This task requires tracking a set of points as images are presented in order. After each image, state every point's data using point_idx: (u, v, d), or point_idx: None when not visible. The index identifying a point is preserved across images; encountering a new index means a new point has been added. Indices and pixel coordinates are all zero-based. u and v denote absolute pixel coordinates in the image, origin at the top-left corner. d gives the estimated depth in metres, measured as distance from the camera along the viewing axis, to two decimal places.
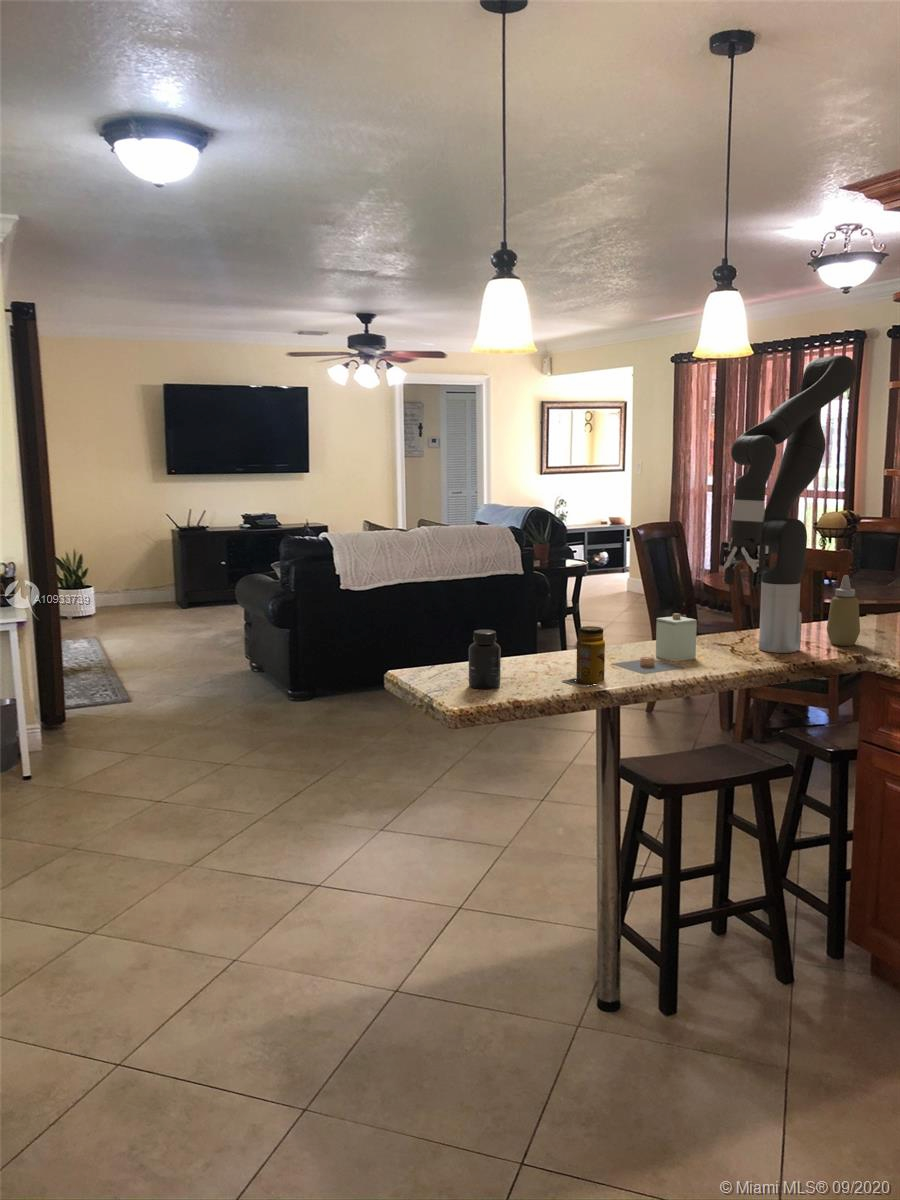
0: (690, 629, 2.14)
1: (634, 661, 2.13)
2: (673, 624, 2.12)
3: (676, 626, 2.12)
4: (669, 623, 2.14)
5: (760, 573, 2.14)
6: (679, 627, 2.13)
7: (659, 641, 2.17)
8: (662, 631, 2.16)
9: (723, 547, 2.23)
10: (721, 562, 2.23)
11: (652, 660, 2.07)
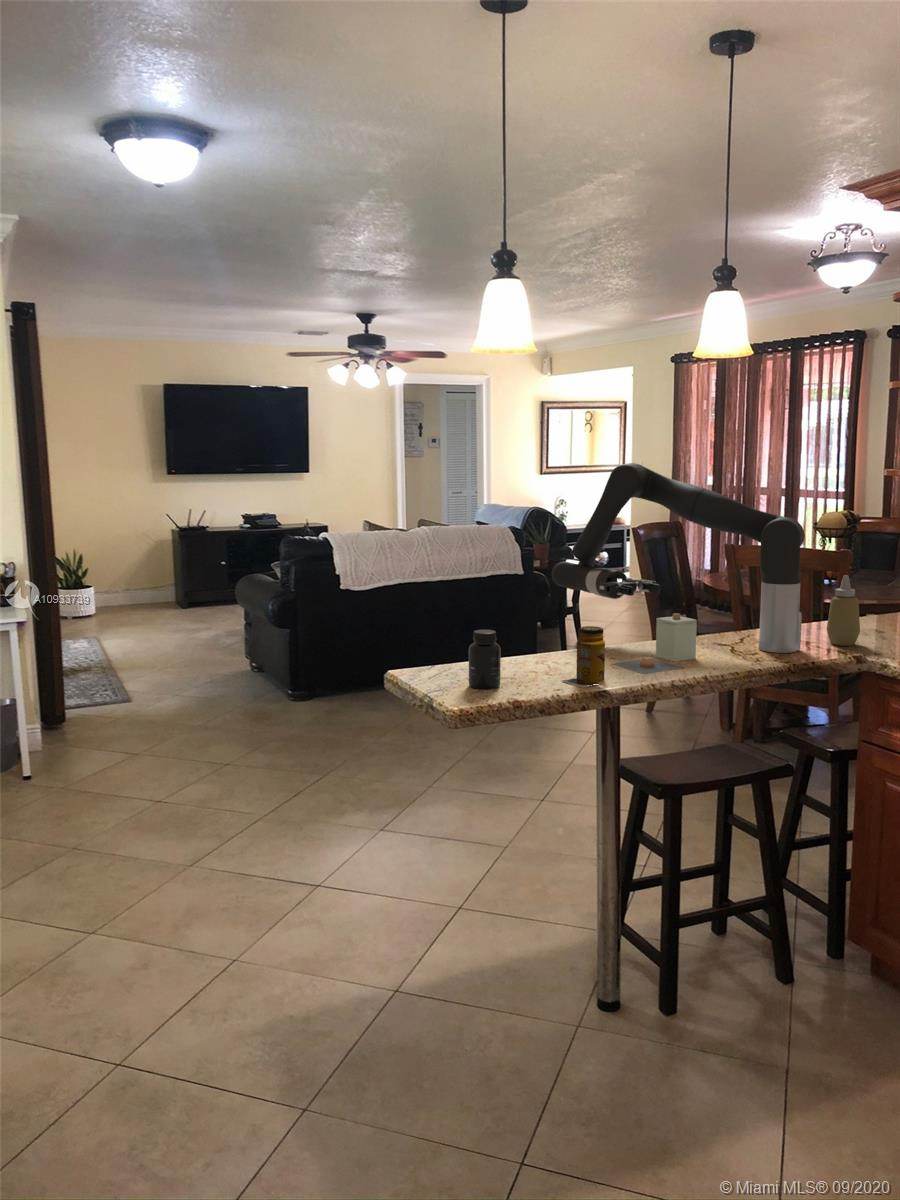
0: (690, 629, 2.14)
1: (634, 661, 2.13)
2: (673, 624, 2.12)
3: (676, 626, 2.12)
4: (669, 623, 2.14)
5: (619, 589, 2.26)
6: (679, 627, 2.13)
7: (659, 641, 2.17)
8: (662, 631, 2.16)
9: None
10: None
11: (652, 660, 2.07)
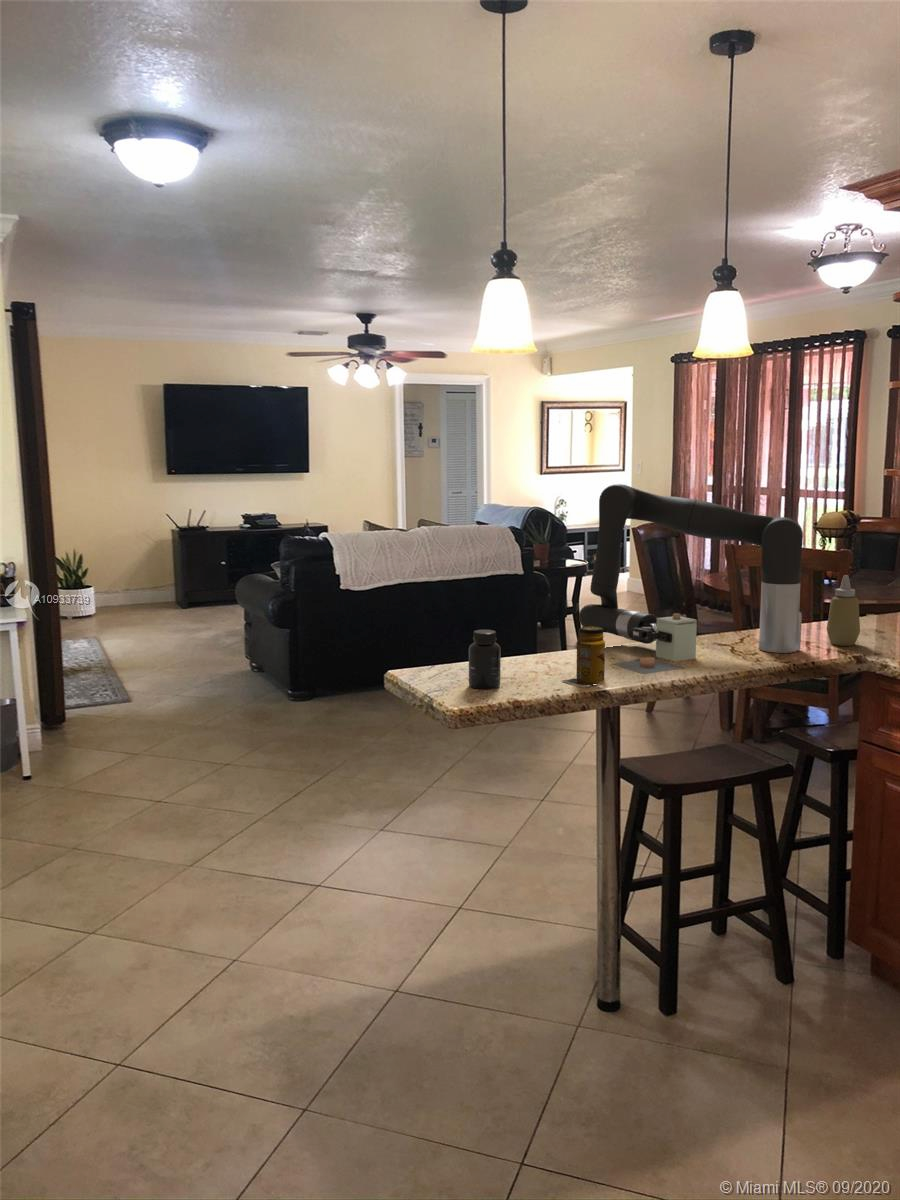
0: (690, 629, 2.14)
1: (634, 661, 2.13)
2: (673, 624, 2.12)
3: (676, 626, 2.12)
4: (669, 623, 2.14)
5: (657, 635, 2.16)
6: (679, 627, 2.13)
7: (659, 641, 2.17)
8: None
9: None
10: None
11: (652, 660, 2.07)
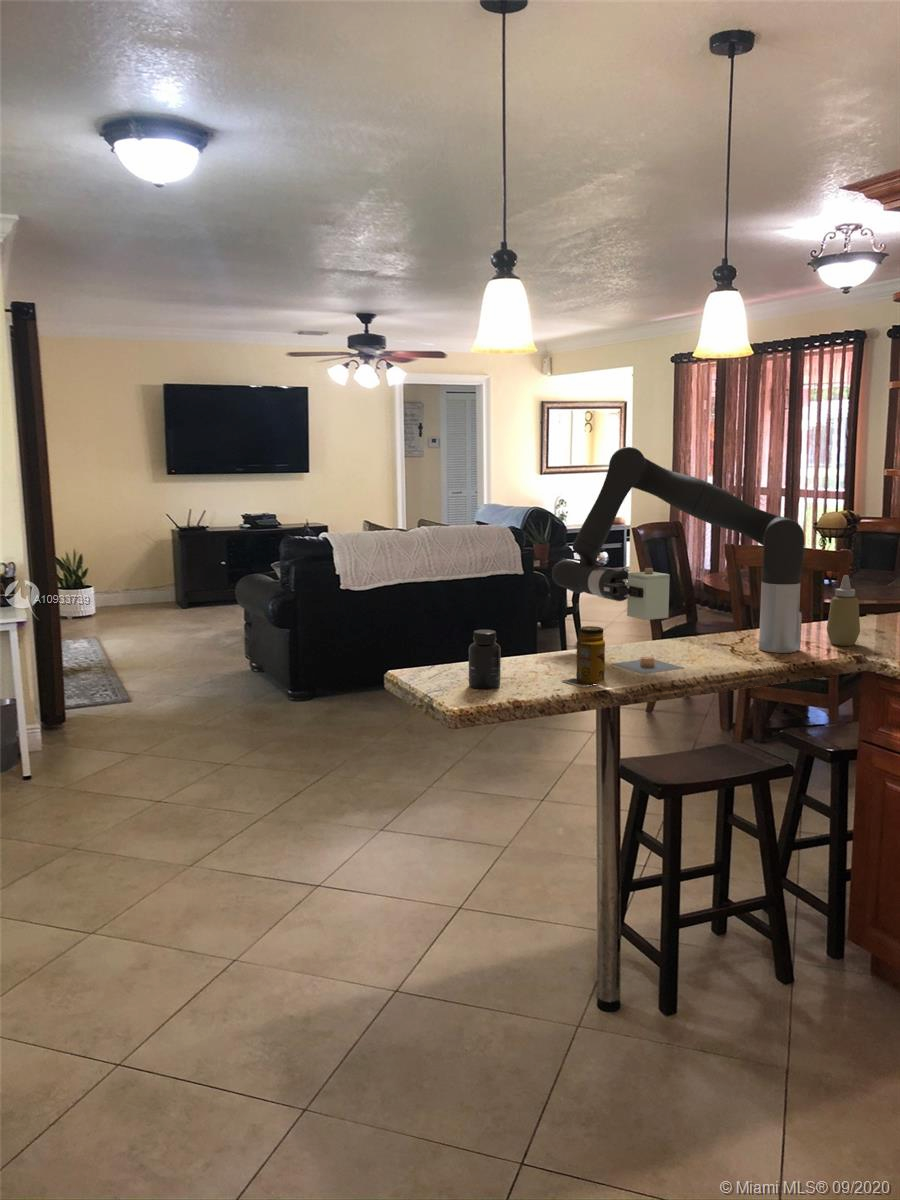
0: (663, 584, 2.04)
1: (634, 661, 2.13)
2: (644, 578, 2.03)
3: (648, 581, 2.02)
4: (640, 577, 2.04)
5: (628, 591, 2.06)
6: (651, 581, 2.03)
7: (630, 597, 2.07)
8: None
9: None
10: None
11: (652, 660, 2.07)
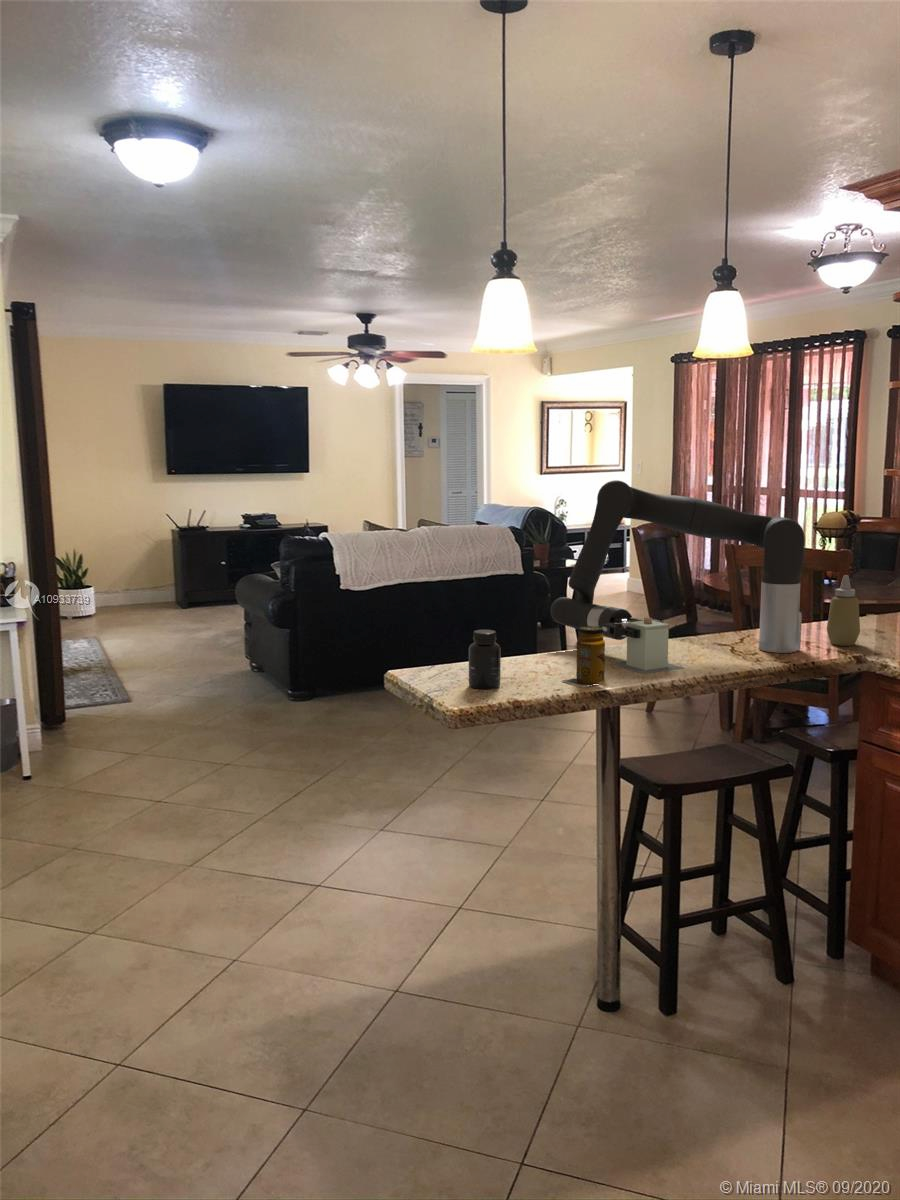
0: (662, 634, 2.05)
1: None
2: (644, 629, 2.03)
3: (647, 631, 2.03)
4: (640, 628, 2.05)
5: (624, 631, 2.06)
6: (650, 632, 2.04)
7: (630, 646, 2.08)
8: None
9: None
10: None
11: None
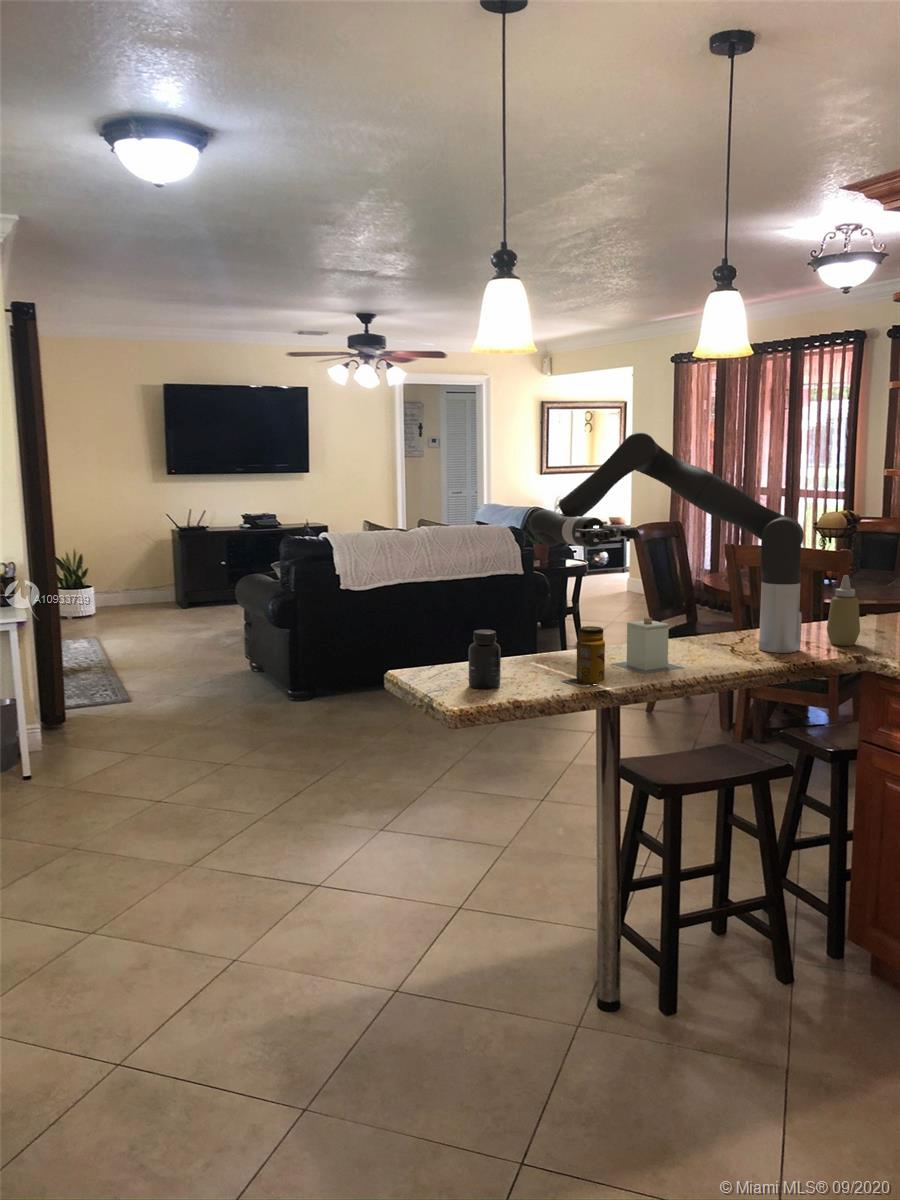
0: (662, 634, 2.05)
1: None
2: (644, 629, 2.03)
3: (647, 631, 2.03)
4: (640, 628, 2.05)
5: (595, 534, 2.17)
6: (650, 632, 2.04)
7: (630, 646, 2.08)
8: (632, 636, 2.07)
9: None
10: None
11: None
